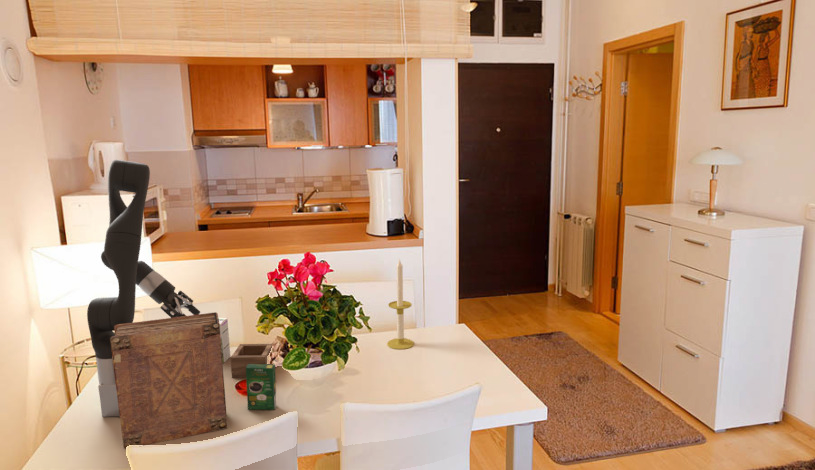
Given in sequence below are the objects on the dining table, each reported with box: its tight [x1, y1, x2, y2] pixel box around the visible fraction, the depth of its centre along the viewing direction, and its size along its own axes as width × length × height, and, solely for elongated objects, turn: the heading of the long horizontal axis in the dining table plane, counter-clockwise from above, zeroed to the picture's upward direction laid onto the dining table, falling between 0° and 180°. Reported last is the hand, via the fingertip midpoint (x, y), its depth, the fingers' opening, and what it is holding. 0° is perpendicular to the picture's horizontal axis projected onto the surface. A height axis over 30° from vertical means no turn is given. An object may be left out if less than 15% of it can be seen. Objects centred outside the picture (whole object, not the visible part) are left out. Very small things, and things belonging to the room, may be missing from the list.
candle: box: [386, 258, 415, 350], centre depth 200 cm, size 10×10×32 cm
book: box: [110, 312, 228, 450], centre depth 144 cm, size 25×9×30 cm, turn 112°
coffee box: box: [245, 363, 277, 411], centre depth 157 cm, size 8×3×13 cm, turn 89°
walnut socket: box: [230, 343, 273, 379], centre depth 182 cm, size 11×11×7 cm
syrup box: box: [218, 317, 232, 364], centre depth 190 cm, size 6×6×14 cm
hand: (194, 318), depth 188 cm, fingers open, 8 cm apart
